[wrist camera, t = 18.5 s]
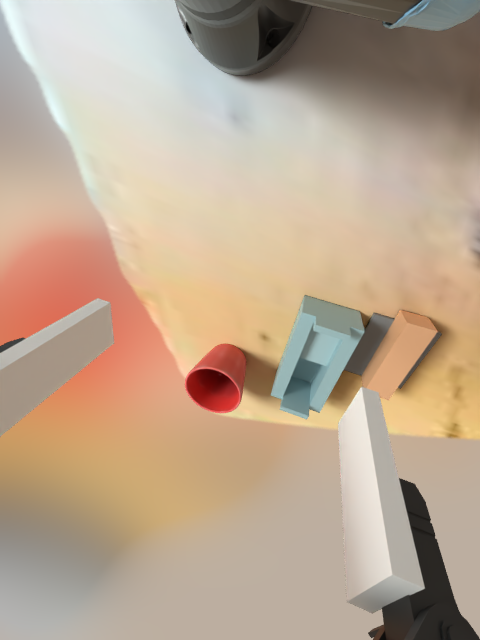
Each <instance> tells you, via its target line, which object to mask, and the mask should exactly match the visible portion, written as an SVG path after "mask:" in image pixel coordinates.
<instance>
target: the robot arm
mask: <svg viewBox="0 0 480 640" xmlns="http://www.w3.org/2000/svg"><path fill="white" fill-rule="evenodd" d="M175 3H176V5H177V9H178V12H179V15H180V18H181V21H182V23H183V26H184V28H185V30H186V32H187V34H188V36H189V38H190V39H191V41H192V43H193V44H194V46H195V47H196V48H197V50H198V51H199V52H200V53H201V54H202V55H203V56H204V57H205V58H206V59H207V60H208V61H209V62H210V63H211V64H213V65H214V66H215V67H217V68H218V69H220V70H222V71H224V72H226V73H229V74H233V75H250V74H254V73H258V72H260V71H262V70H264V69H266V68H268V67H270V66H271V65H272V64H274V63H275V62H276V61H278V60H279V59H280V58H281V57H282V56H283V55H284V54H285V53H286V52H287V50H288V49H289V48H290V47H291V45H292V44H293V43H294V41H295V40H296V38H297V37H298V35H299V33H300V32H301V30H302V28H303V26H304V24H305V22H306V20H307V17H308V15H309V12H310V10H311V7H312V5H313V6H318V7H322V8H326V9H331V10H335V11H340V12H344V13H349V14H353V15H358V16H362V17H366V18H371V19H375V20H380V21H383V25H384V26H385V27H386V28H389V29H393V28H399V27H401V26H408V27H414V28H420V29H426V30H433V31H442V30H447V29H450V28H451V27H453V26H456V25H457V24H460V23H463V22H465V21H467V20H469V19H470V18H471V17H473V16H474V15H475V14H477V13H478V12H479V11H480V0H175ZM112 344H114V336H113V325H112V315H111V305H110V302H107V301H104V300H101V299H98V298H97V299H95V300H94V301H92V302H90V303H88V304H87V305H85V306H83V307H81V308H80V309H78V310H76V311H74V312H72V313H71V314H69V315H67V316H65V317H64V318H62V319H60V320H58V321H57V322H55V323H53V324H51V325H50V326H48V327H46V328H44V329H42V330H41V331H39V332H37V333H35V334H34V335H32V336H30V337H28V338H26V339H25V338H20V339H17V340H14V341H10V342H7V343H5V344H4V345H2V346H0V436H1V435H3V434H4V433H5V432H6V431H8V430H9V429H10V428H11V427H12V426H14V425H15V424H16V423H17V422H18V421H19V420H21V419H22V418H23V417H25V416H26V415H27V414H28V413H29V412H31V411H32V410H33V409H34V408H35V407H37V406H38V405H39V404H40V403H42V402H43V401H44V400H45V399H47V398H48V397H49V396H50V395H51V394H52V393H54V392H55V391H56V390H58V389H59V388H60V387H61V386H62V385H64V384H65V383H66V382H67V381H68V380H70V379H71V378H72V377H73V376H75V375H76V374H77V373H78V372H80V371H81V370H82V369H83V368H84V367H86V366H87V365H88V364H89V363H91V362H92V361H93V360H94V359H95V358H97V357H98V356H99V355H100V354H101V353H103V352H104V351H105V350H106V349H108V348H109V347H110V346H111V345H112ZM338 432H339V452H340V473H341V494H342V515H343V535H344V556H345V577H346V597H347V602H348V603H351V604H353V605H355V606H357V607H359V608H362V609H364V610H366V611H368V612H370V613H374V612H376V611H378V610H380V609H382V612H383V620H384V625H381V626H379V627H377V628H374V629H373V630H371V631H370V632H369V633H368V634H369V635H370V637H371V638H373V637H374V639H373V640H480V639H479V637H478V635H477V634H476V632H475V631H474V630H473V628H472V627H471V625H470V624H469V623H468V621H467V620H466V619H465V618H464V617H462V616H461V614H460V612H459V610H458V607H457V604H456V602H455V599H454V596H453V593H452V589H451V586H450V583H449V579H448V576H447V573H446V569H445V566H444V562H443V559H442V556H441V553H440V549H439V546H438V542H437V539H435V533H434V529H433V526H432V524H431V523H430V520H431V519H430V516H429V512H428V509H427V506H426V502H425V500H424V499H423V497H422V495H421V494H420V492H419V490H418V489H417V487H416V485H415V484H413V483H411V482H408V481H405V480H403V479H400V478H399V477H398V473H397V468H396V464H395V460H394V456H393V452H392V447H391V443H390V439H389V435H388V430H387V426H386V422H385V418H384V413H383V409H382V405H381V401H380V397H379V392H376V391H373V390H370V389H367V388H364V387H361V388H360V390H359V391H358V393H357V394H356V396H355V398H354V399H353V401H352V402H351V404H350V405H349V407H348V409H347V410H346V412H345V413H344V415H343V416H342V418H341V420H340V421H339V423H338Z"/></svg>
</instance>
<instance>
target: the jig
mask: <svg viewBox="0 0 480 640" xmlns="http://www.w3.org/2000/svg"><path fill="white" fill-rule="evenodd" d="M364 332H365V331H364V326H363V322H362V318H361V314H360V311H357V310H354V309H350V308H347V307H343V306H340V305H337V304H333V303H330V302H327V301H323V300H320V299H317V298H313V297H310V296H306V295H305V296H304V299H303V301H302V304H301V307H300V309H299V312H298V315H297V318H296V320H295V323H294V326H293V328H292V331H291V334H290V337H289V339H288V342H287V345H286V347H285V350H284V353H283V356H282V358H281V361H280V364H279V367H278V369H277V372H276V375H275V380H274V384H273V388H272V392H271V396H274V397H277V398H279V399H282V401H281V406H280V410H282V411H285V412H288V413H291V414H293V415H296V416H299V417H302V418H304V419H307V418H308V417H309V409H310V410H313V411H316V412H319V413H320V411H321V409H322V407H323V405H324V404H325V402H326V400H327V398H328V397H329V395H330V393H331V391H332V389H333V388H334V386H335V384H336V382H337V380H338V379H339V377H340V375H341V373H342V371H343V370H344V368H345V366H346V364H347V362H348V361H349V359H350V357H351V355H352V353H353V352H354V350H355V348H356V346H357V344H358V343H359V341H360V339H361V337H362V335H363V334H364Z"/></svg>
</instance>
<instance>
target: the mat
mask: <svg viewBox="0 0 480 640" xmlns="http://www.w3.org/2000/svg"><path fill="white" fill-rule="evenodd" d="M393 321H394V318H391V317H387V316H384V315H381V314H377V313H373V315H372V317H371V319H370V321H369V322H368V324H367V326H366V328H365V330H364V331H365V332H364V334H363V335H362V337H361V339H360V341H359V343H358V344H357V346H356V348H355V350H354V352H353V353H352V355H351V357H350V359H349V361H348V362H347V364H346V366H345V368H344V370H346V371H349V372H352V373H355V374H358V375H361V376H362V374H363V372H364V370H365V369H366V367H367V365H368V364H369V362H370V360H371V359H372V357H373V355H374V353H375V352H376V350H377V348H378V347H379V345H380V343H381V342H382V340H383V338H384V336H385V335H386V333H387V331H388V330H389V328H390V326H391V325H392V323H393ZM441 335H442V334H441V332H437V333H436V335H435V336H434V338H433V339H432V340H431V342H430V343H429V344H428V346H427V347H426V349H425V350H424V351H423V353H422V354H421V356H420V357H419V358H418V360H417V361H416V363H415V364H414V365H413V367H412V368H411V370H410V371H409V372H408V374H407V375H406V377H405V378H404V379H403V381H402V382H401V384H400V385H399V386H398V388H400V389H401V387H402V386H403V385H404V383H405V382H406V381H407V380H408V378H409V377H410V376H411V374H412V373H413V372H414V370H415V369H416V368H417V366H418V365H419V364H420V362H421V361H422V360H423V359H424V357H425V356H426V355H427V353H428V352H429V351H430V349H431V348H432V347H433V345H434V344H435V343H436V341H437V340H438V339H439V338H440V336H441Z"/></svg>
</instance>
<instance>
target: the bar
mask: <svg viewBox="0 0 480 640" xmlns="http://www.w3.org/2000/svg"><path fill="white" fill-rule="evenodd" d="M437 332H438V331H437V329H436V328H435V327H434V325H433V324H432V322H431V321H430V319H429V318H428V317H425V316H421V315H417V314H414V313H410V312H406V311H403V310H400V311H399V313H398V314H397V316H396V318H395V319H394V321H393V323H392V325H391V326H390V328H389V330H388V331H387V333H386V335H385V336H384V338H383V340H382V342H381V343H380V345H379V347H378V348H377V350H376V352H375V353H374V355H373V357H372V359H371V360H370V362H369V364H368V365H367V367H366V369H365V370H364V372H363V374H362V376H361V379H362V384H363V387H364V388H367V389H370V390H373V391H376V392H379V397H380V398H384V399H387V400H389V399H390V398H391V396H392V395H393V393H394V392H395V391H396V389H397V388H398V386H399V385H400V384H401V382H402V381H403V379H404V378H405V377H406V375H407V374H408V372H409V371H410V370H411V368H412V367H413V365H414V364H415V363H416V361H417V360H418V358H419V357H420V356H421V354H422V353H423V351H424V350H425V349H426V347H427V346H428V344H429V343H430V342H431V340H432V339H433V338H434V336H435V335H436V333H437Z"/></svg>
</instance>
